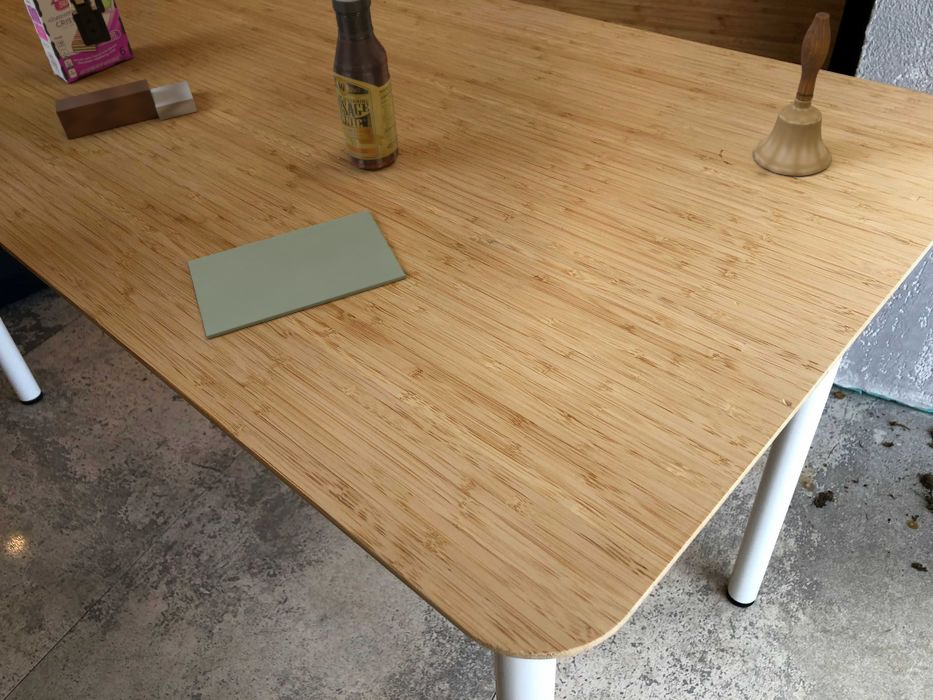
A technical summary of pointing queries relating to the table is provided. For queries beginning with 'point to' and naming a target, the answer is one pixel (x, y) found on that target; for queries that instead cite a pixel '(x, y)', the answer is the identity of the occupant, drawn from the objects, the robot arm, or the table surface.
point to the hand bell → (800, 115)
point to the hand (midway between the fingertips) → (95, 27)
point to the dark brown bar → (122, 107)
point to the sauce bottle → (363, 88)
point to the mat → (292, 272)
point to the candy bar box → (77, 39)
